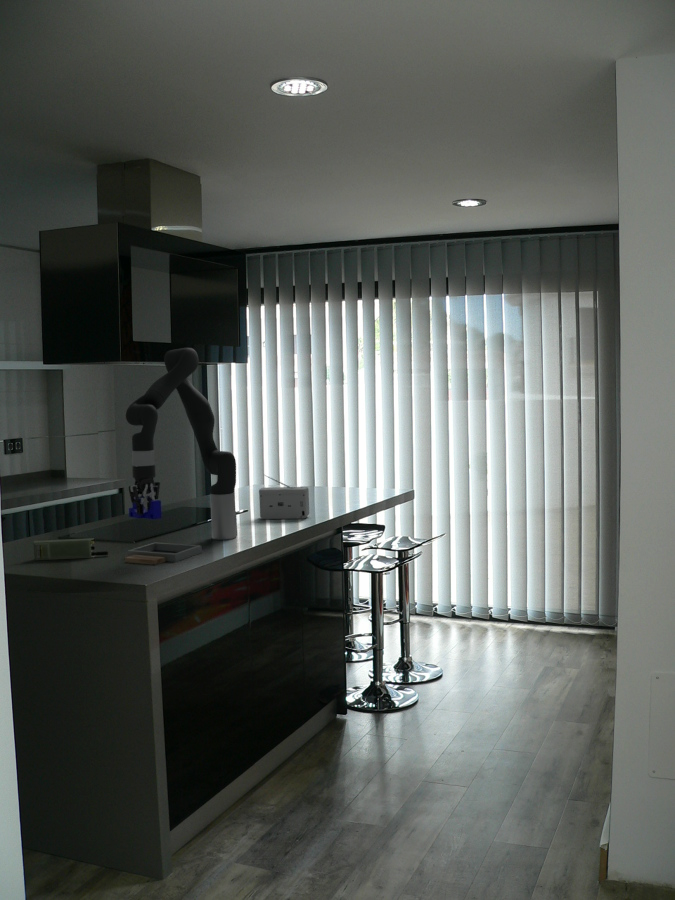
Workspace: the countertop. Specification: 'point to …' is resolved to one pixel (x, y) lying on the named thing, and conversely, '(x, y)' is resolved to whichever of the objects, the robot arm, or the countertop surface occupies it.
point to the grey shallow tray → (182, 550)
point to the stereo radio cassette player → (284, 502)
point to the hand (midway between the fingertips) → (145, 513)
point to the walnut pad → (145, 559)
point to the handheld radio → (65, 549)
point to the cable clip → (151, 514)
